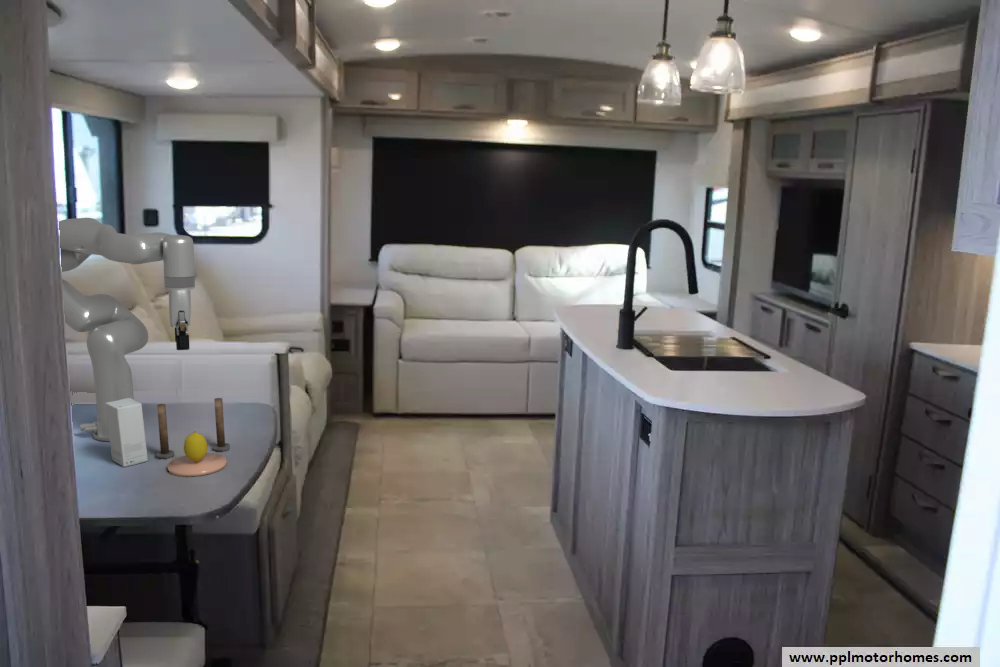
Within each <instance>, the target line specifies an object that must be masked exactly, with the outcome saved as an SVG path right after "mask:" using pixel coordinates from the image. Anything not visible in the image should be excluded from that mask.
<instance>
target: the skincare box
mask: <svg viewBox="0 0 1000 667" xmlns="http://www.w3.org/2000/svg"><path fill="white" fill-rule="evenodd" d="M105 406H106V414H107V422H108V430H109V438H110V441H109V444H110V445H109V446H110V451H111V460H112V461H114V462H115V463H116V464H118V465H119V466H121V467H123V468H125V467H126V468H127V467H130V466H135V465H139V464H141V463H142V464H143V463H146V462H148V460H149V459H148V451H147V441H146V434H145V433H146V432H145V424H144V415H143V406H142V403H141V402H139V401H136V400H135V399H134V400H133V399H131V398H126V399H122V400H117V401H112V402H107V403H105Z"/></svg>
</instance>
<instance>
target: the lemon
mask: <svg viewBox="0 0 1000 667" xmlns="http://www.w3.org/2000/svg"><path fill="white" fill-rule="evenodd" d="M183 444H184V445H183V451H184V456H187V458H188V459H190V460H192V461H194V462H196V463H197V462H199V460H201V459H203V458H204V457H205V455H206V453H208V442H207V440H206V437H205V436H204V435H202V434H200V433H198V432H197V431H194V432H192V433H191V434H189V435H188V436H187V437H186V438H185V440H184V443H183Z"/></svg>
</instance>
